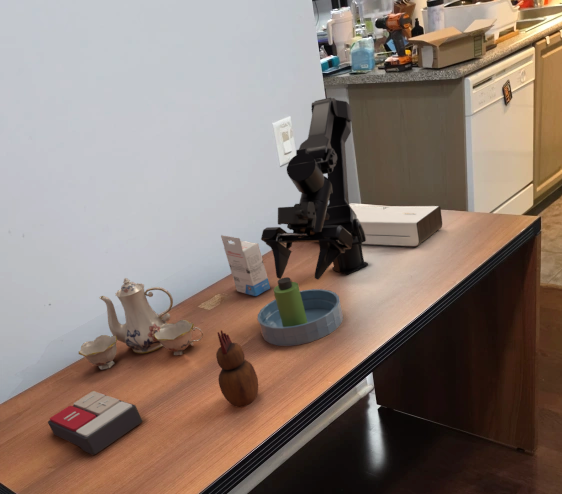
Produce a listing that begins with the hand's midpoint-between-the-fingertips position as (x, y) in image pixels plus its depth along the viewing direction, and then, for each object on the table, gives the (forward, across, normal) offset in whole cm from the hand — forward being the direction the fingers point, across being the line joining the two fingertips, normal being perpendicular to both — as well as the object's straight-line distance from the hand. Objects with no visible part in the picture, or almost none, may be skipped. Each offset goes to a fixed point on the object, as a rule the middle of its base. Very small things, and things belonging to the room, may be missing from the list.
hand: (297, 278), depth 130 cm
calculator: (+38, -21, -22) cm, 48 cm away
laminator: (-26, -9, +41) cm, 50 cm away
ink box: (-3, -26, +19) cm, 32 cm away
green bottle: (+10, 0, +4) cm, 11 cm away
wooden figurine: (+27, +3, -11) cm, 30 cm away
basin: (+8, -1, +8) cm, 11 cm away
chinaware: (+19, -34, -3) cm, 39 cm away
